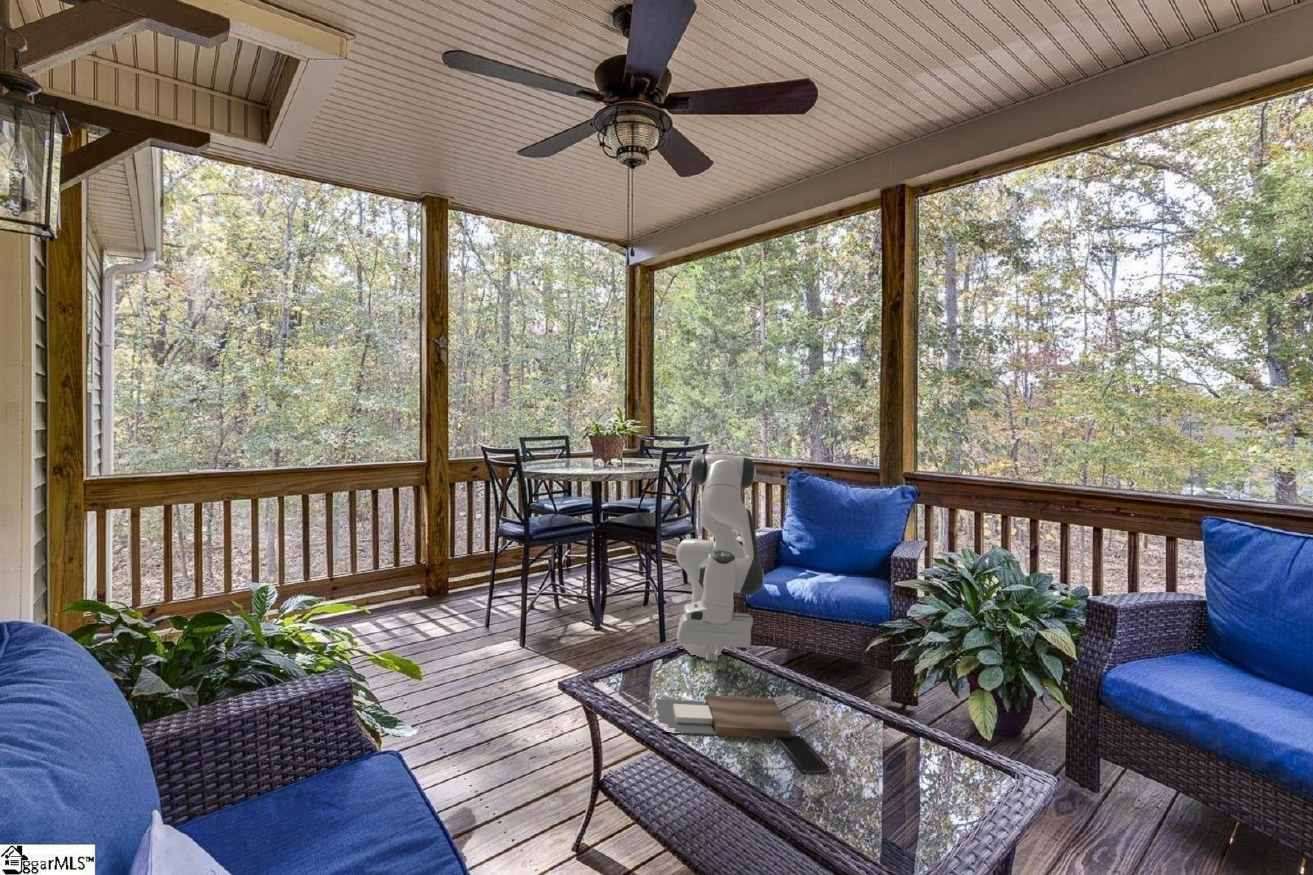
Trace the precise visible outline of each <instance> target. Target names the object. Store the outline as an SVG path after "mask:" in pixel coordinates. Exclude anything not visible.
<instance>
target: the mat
mask: <svg viewBox="0 0 1313 875" xmlns="http://www.w3.org/2000/svg"><path fill="white" fill-rule="evenodd" d="M655 701H656V707H657V708H658V709H657V715H658V714H659V715H658V719H661V720H660V721H661V722H659V724H660V723H666V724H668V727H669V728H676V729H675V730H674V731H675V732H683V733H687V734H686V735H693V736H694V735H695V736H696V735H697V736H713V737H714V736H715V731H714V728H713V725H712V724H702V723H680V722H676V721H675V716H674V712H673V704H687V705H706V702H705V701H703V700H702V701H701V700H683V699H668V698H667V699H665V698H656V700H655Z"/></svg>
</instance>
